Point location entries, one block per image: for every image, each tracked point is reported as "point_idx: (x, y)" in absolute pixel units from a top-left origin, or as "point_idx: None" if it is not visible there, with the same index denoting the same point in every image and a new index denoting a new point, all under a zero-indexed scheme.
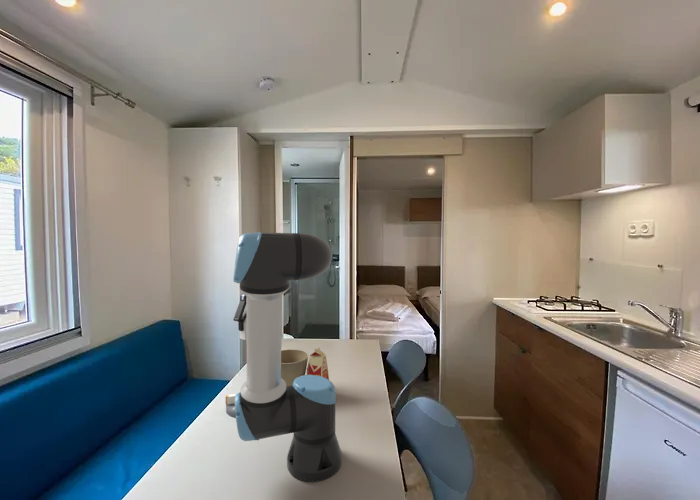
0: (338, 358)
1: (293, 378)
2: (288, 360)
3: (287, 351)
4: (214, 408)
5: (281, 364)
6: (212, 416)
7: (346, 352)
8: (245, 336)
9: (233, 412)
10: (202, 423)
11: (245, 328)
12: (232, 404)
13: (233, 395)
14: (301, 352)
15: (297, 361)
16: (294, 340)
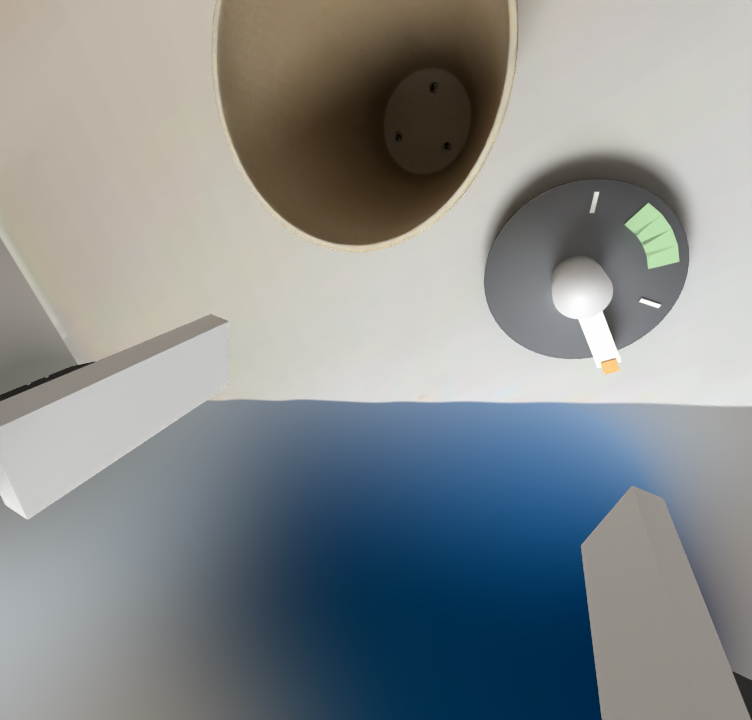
0: (65, 74)
1: (480, 3)
2: (295, 168)
3: (258, 177)
4: (592, 391)
5: (515, 56)
6: (662, 373)
7: (9, 67)
8: (667, 530)
9: (678, 292)
10: (727, 386)
11: (719, 677)
12: None
13: (603, 340)
14: (229, 45)
15: (280, 101)
16: (69, 332)
